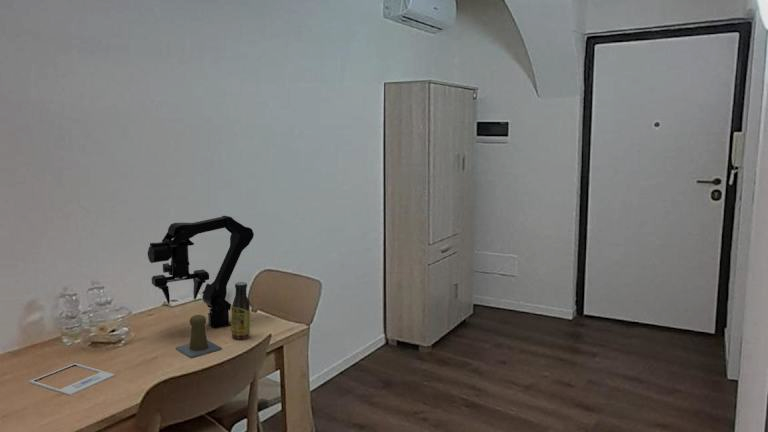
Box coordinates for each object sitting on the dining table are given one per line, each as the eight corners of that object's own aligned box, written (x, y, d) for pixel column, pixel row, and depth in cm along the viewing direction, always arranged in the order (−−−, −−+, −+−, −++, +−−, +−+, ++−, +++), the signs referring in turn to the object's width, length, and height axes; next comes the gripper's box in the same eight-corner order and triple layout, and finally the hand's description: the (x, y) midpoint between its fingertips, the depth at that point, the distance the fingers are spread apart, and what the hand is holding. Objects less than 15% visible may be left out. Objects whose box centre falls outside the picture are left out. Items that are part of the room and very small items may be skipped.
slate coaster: (205, 340, 203) (205, 339, 203) (221, 349, 195) (221, 347, 195) (175, 348, 195) (175, 347, 195) (191, 358, 188) (191, 356, 187)
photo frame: (70, 393, 161) (29, 380, 169) (70, 397, 161) (29, 384, 169) (115, 373, 174) (74, 362, 182) (115, 377, 174) (75, 365, 182)
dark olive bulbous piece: (211, 344, 198) (210, 313, 196) (203, 351, 192) (202, 319, 190) (194, 343, 198) (192, 312, 197) (186, 350, 193) (185, 318, 191)
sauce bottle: (228, 338, 205) (226, 284, 202) (238, 333, 211) (237, 279, 208) (243, 341, 203) (242, 286, 200) (254, 335, 208) (252, 281, 205)
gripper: (199, 251, 217) (200, 291, 220) (146, 257, 207) (149, 299, 209) (208, 257, 208) (210, 299, 211) (154, 263, 198) (156, 307, 200)
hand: (181, 301), depth 208 cm, fingers open, 9 cm apart
